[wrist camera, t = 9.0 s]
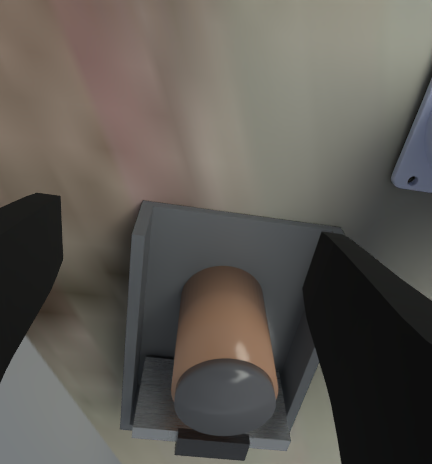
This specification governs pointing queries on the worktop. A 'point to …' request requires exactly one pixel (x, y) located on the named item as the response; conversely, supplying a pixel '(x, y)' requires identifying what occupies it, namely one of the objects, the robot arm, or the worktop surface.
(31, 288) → the robot arm
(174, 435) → the pusher plate
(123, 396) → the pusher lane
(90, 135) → the worktop surface
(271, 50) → the worktop surface
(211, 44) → the worktop surface
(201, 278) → the jar
